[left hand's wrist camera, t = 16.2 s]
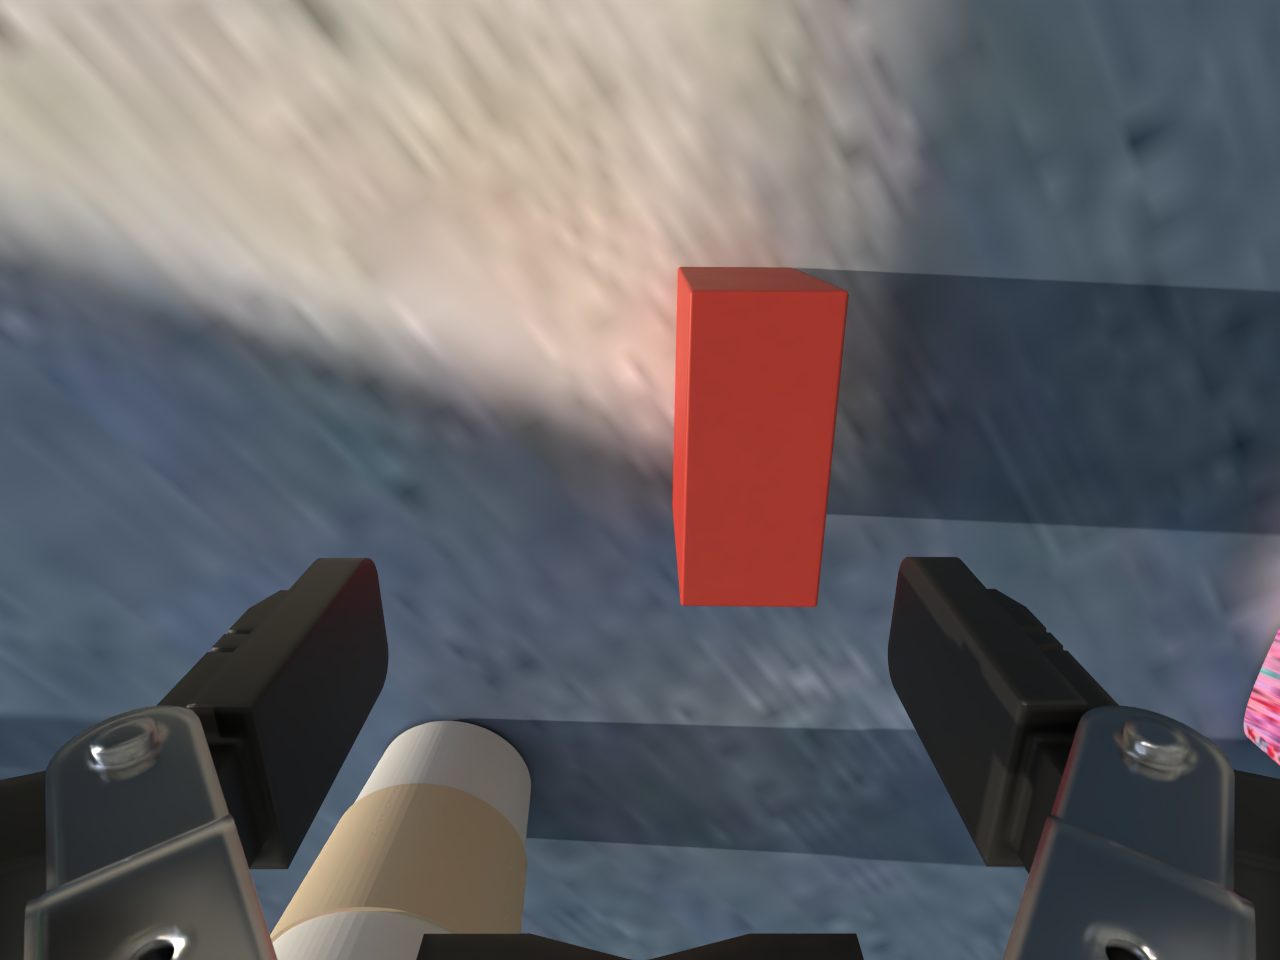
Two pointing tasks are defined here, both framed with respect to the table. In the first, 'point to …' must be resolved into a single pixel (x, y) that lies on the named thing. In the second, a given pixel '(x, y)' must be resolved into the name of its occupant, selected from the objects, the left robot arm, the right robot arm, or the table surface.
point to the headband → (1266, 705)
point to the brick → (754, 432)
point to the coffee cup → (418, 852)
